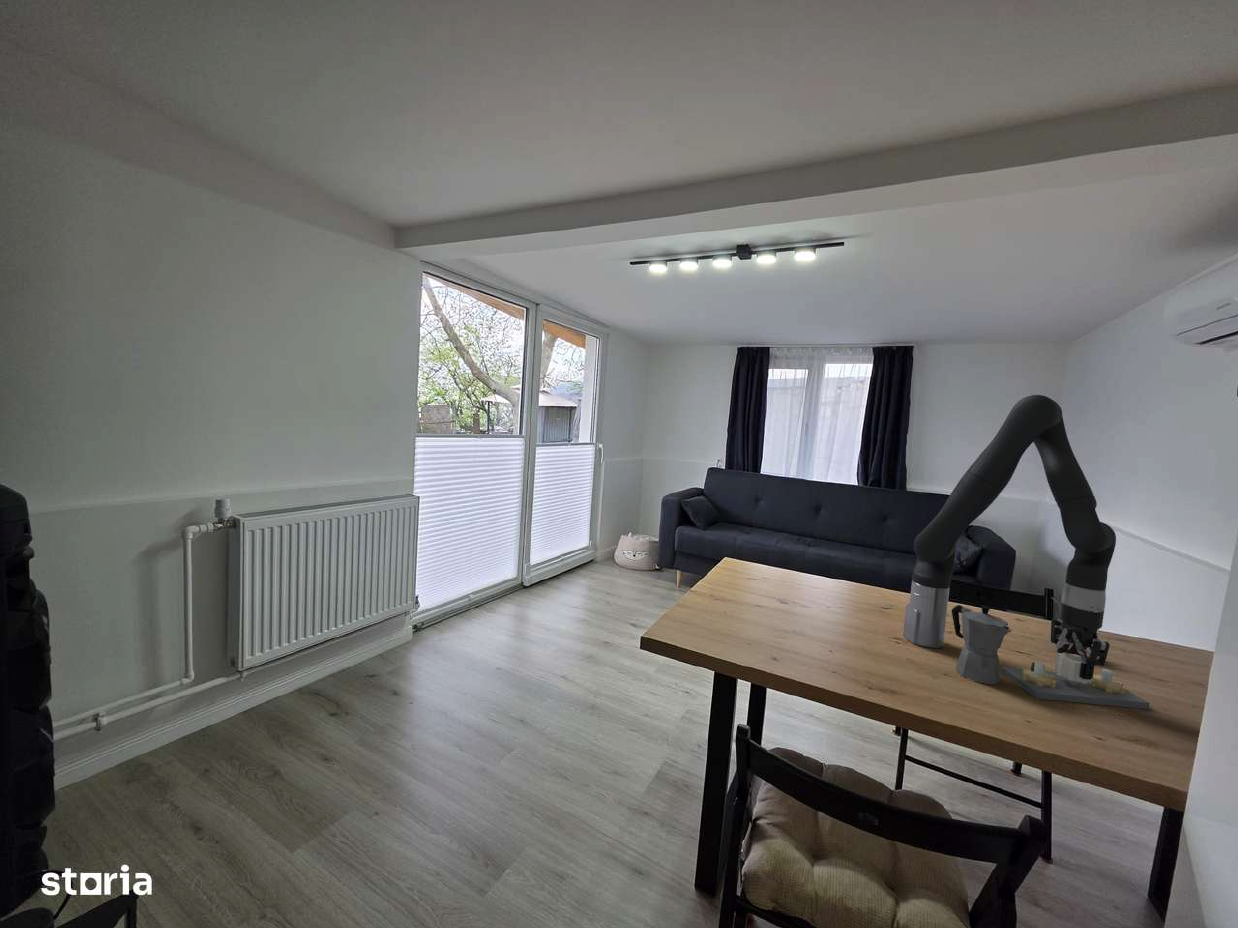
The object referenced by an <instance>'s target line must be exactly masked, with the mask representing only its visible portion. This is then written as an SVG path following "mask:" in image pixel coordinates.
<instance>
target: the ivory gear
mask: <svg viewBox="0 0 1238 928" xmlns="http://www.w3.org/2000/svg"><path fill="white" fill-rule="evenodd" d="M1055 658H1056V659H1055V665H1054V672H1057V675H1059V676H1062V677H1065V678H1067V679H1068V680H1071V681H1077V682H1081V683H1085V684H1087V682H1090V683H1091V682H1092V679H1091V680H1087V679H1082V678H1081V677H1080V676H1079V675H1080V667H1081V662H1082V659H1081V656H1080V655H1076V654H1075V655H1074V654H1070V653H1064V652H1063V653H1057V652H1056V657H1055ZM1082 663H1083V662H1082Z"/></svg>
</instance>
